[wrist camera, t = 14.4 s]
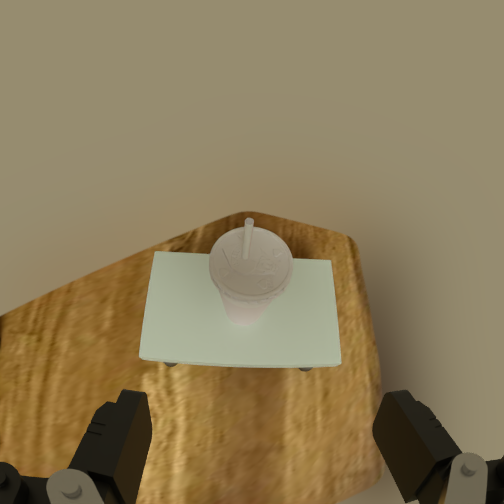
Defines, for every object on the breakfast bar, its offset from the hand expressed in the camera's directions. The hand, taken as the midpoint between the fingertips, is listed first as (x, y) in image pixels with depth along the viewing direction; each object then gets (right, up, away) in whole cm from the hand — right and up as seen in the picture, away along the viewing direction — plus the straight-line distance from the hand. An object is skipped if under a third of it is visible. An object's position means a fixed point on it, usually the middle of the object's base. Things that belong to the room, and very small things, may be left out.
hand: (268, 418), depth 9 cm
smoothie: (-1, 0, +22) cm, 22 cm away
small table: (-2, -4, +28) cm, 29 cm away
